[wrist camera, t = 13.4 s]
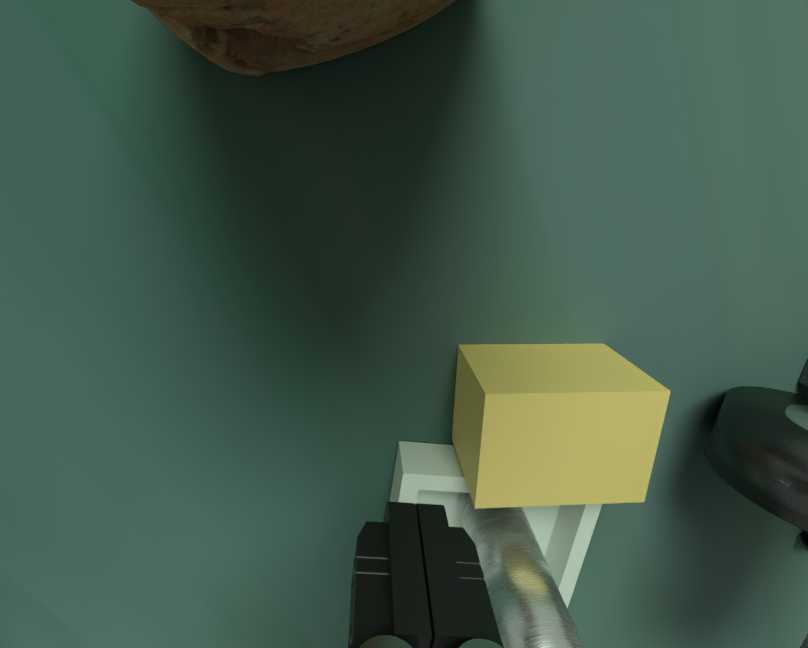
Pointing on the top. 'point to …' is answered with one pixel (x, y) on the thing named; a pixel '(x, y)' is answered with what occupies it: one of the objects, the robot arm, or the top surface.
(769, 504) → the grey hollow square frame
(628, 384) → the block
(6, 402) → the top surface
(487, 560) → the pin
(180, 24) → the block
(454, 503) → the tray
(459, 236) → the top surface
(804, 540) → the brown wooden spoon
